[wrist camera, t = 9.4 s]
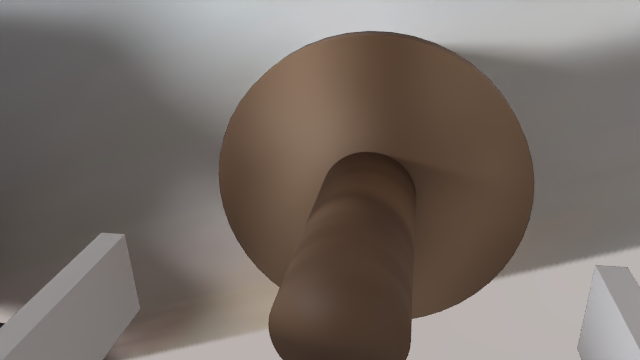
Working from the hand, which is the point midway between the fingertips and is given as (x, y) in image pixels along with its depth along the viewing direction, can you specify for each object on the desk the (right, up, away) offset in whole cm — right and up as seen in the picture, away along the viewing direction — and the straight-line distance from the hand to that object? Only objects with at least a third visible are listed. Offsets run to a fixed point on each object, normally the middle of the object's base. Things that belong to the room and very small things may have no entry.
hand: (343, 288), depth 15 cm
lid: (+1, +3, +6) cm, 7 cm away
